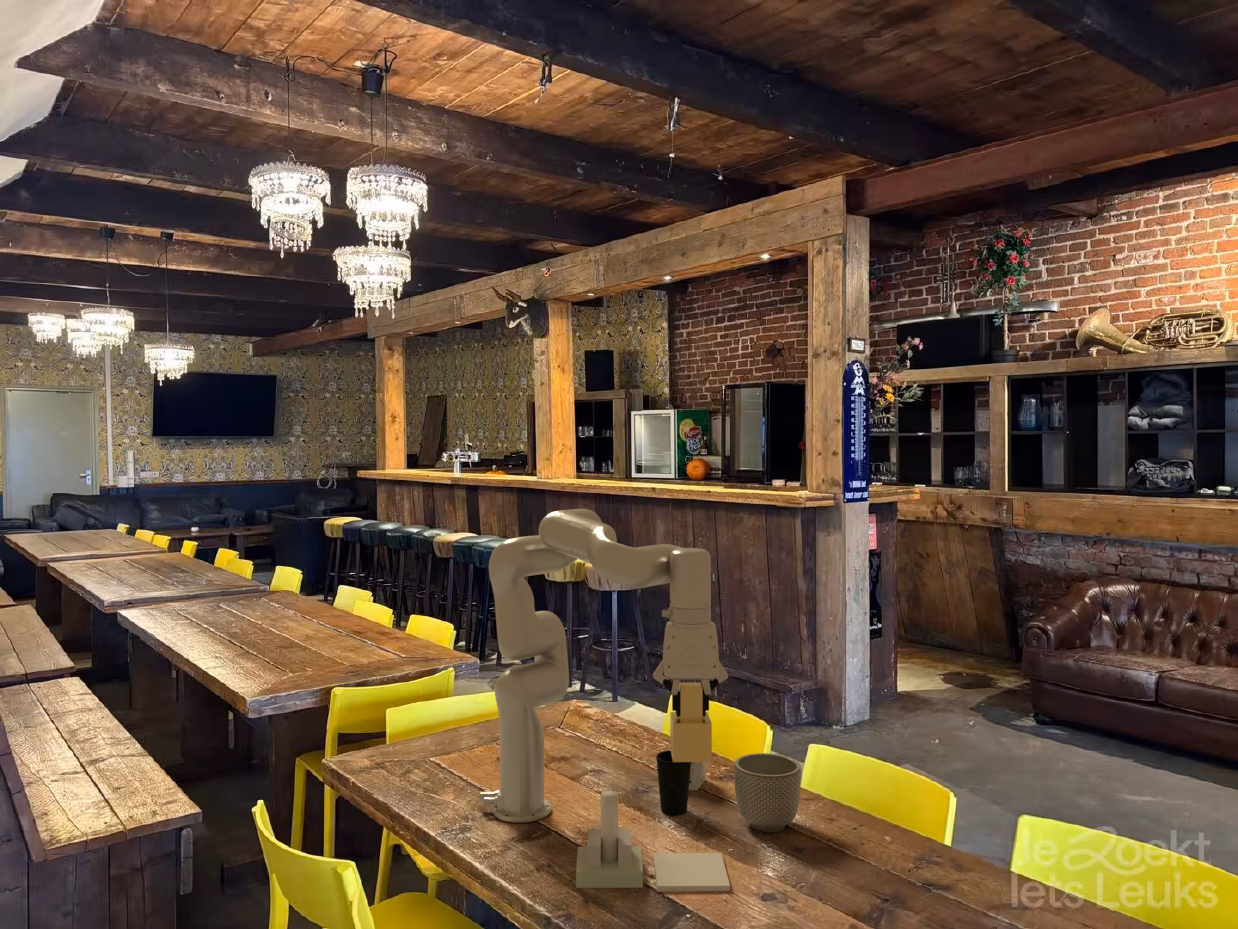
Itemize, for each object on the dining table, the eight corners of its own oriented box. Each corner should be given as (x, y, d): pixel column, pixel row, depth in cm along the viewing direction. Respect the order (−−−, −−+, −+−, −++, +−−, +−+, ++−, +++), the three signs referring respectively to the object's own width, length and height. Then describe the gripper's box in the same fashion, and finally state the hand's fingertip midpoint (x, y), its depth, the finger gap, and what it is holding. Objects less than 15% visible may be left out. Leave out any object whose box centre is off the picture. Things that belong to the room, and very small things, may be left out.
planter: (786, 846, 178) (786, 781, 177) (722, 830, 185) (722, 768, 185) (811, 821, 190) (811, 760, 189) (750, 807, 197) (750, 748, 197)
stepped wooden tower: (673, 762, 162) (672, 690, 162) (670, 749, 169) (670, 680, 169) (711, 762, 162) (711, 690, 162) (707, 749, 169) (707, 680, 169)
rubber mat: (657, 891, 160) (657, 886, 160) (653, 858, 173) (653, 853, 173) (730, 891, 160) (730, 885, 160) (721, 857, 173) (721, 852, 173)
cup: (689, 819, 191) (689, 763, 190) (653, 816, 192) (653, 761, 192) (693, 805, 198) (693, 751, 198) (659, 802, 200) (659, 749, 199)
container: (665, 786, 209) (665, 731, 209) (675, 775, 216) (675, 722, 216) (696, 791, 206) (696, 735, 206) (706, 780, 213) (706, 725, 213)
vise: (576, 888, 161) (575, 805, 161) (578, 862, 171) (577, 784, 171) (642, 887, 161) (642, 804, 161) (640, 862, 171) (640, 784, 171)
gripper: (645, 619, 161) (646, 721, 162) (738, 619, 162) (738, 720, 162) (644, 612, 169) (644, 709, 169) (732, 611, 169) (733, 708, 169)
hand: (690, 713), depth 166 cm, fingers closed on stepped wooden tower, 4 cm apart
